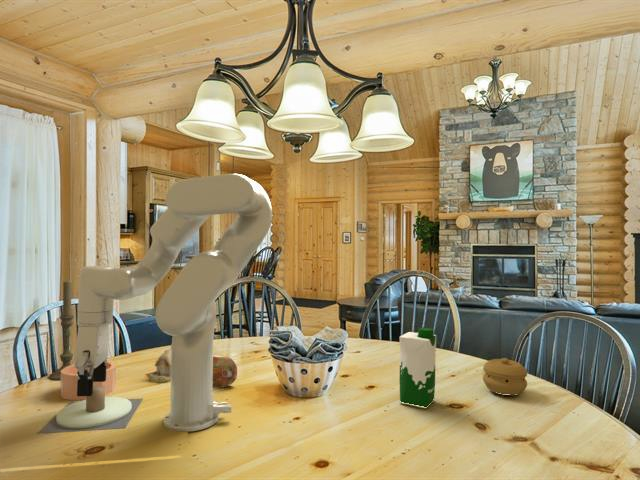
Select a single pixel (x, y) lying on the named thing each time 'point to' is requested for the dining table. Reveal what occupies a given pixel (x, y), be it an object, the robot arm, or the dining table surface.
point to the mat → (55, 428)
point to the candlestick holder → (65, 330)
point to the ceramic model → (162, 368)
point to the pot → (505, 376)
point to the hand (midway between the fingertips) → (92, 388)
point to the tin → (223, 371)
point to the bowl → (71, 380)
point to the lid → (94, 411)
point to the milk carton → (417, 367)
